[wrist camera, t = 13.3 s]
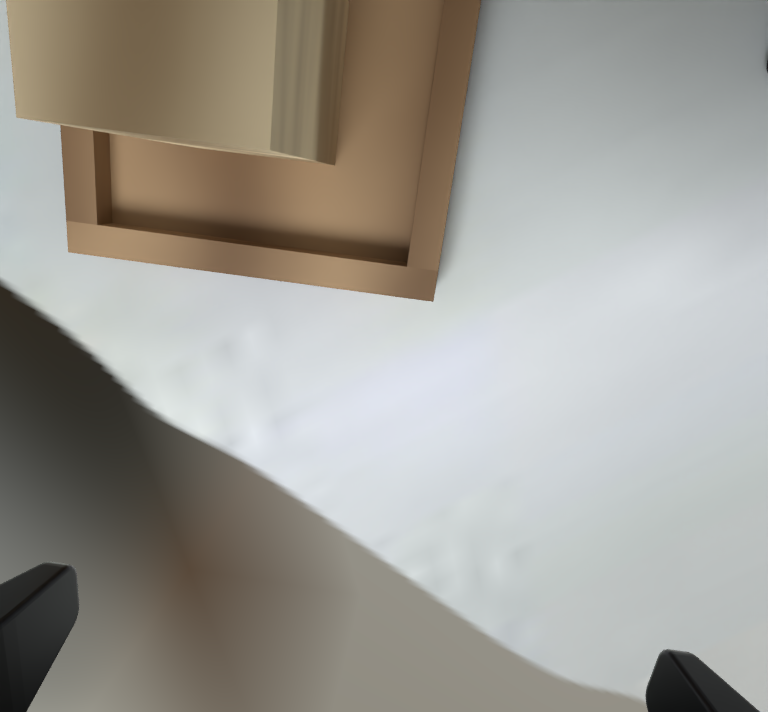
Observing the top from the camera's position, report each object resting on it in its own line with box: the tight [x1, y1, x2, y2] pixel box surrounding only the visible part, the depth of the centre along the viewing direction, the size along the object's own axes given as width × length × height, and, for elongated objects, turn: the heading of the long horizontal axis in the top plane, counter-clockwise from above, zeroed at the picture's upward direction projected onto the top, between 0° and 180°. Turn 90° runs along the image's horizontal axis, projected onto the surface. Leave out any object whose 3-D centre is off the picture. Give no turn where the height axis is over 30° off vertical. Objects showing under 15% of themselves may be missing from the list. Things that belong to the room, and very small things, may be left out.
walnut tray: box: [60, 0, 481, 302], centre depth 16 cm, size 12×12×2 cm
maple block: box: [6, 0, 349, 166], centre depth 12 cm, size 4×4×8 cm
